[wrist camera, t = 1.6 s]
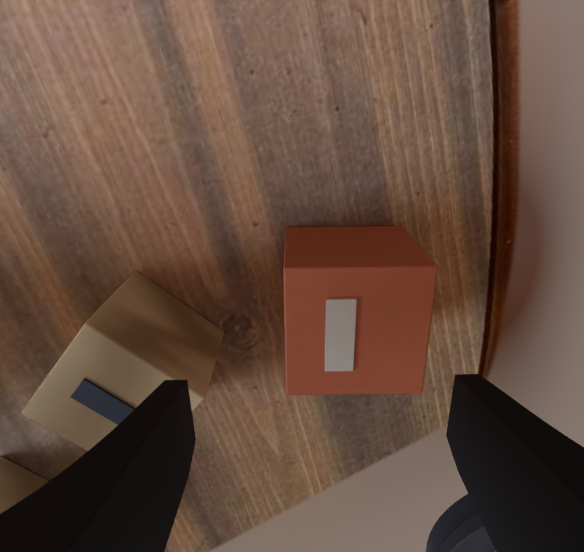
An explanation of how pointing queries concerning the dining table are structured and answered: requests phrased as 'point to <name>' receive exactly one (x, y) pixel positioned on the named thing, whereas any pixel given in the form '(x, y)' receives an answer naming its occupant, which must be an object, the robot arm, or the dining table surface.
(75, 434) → the beech block
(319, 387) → the terracotta block
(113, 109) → the dining table surface
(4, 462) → the beech block
